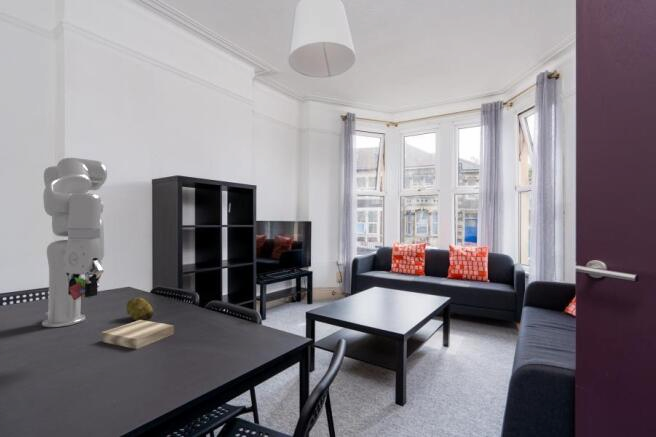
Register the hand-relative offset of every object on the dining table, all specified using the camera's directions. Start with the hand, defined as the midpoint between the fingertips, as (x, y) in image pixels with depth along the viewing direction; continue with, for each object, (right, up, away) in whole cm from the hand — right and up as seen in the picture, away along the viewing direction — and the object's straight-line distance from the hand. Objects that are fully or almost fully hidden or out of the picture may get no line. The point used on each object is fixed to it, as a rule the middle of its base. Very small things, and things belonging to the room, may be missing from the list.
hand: (82, 294), depth 92 cm
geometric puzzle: (0, -1, 0) cm, 1 cm away
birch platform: (+9, -18, +13) cm, 24 cm away
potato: (-3, -18, +33) cm, 37 cm away
